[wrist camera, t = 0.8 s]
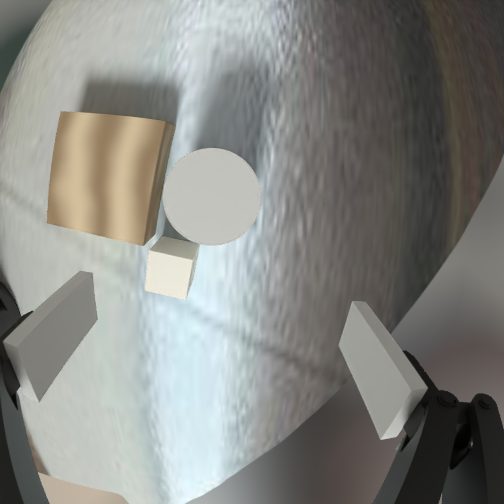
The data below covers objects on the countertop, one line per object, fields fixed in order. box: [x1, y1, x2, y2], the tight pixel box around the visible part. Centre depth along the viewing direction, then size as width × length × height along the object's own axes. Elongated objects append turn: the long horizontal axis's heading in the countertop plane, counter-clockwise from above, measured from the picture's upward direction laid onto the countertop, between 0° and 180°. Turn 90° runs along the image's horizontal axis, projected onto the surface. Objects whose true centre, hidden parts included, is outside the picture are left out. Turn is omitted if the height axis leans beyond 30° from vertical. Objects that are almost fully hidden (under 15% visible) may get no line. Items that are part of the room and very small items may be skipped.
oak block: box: [47, 112, 176, 246], centre depth 31 cm, size 14×14×5 cm
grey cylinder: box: [163, 148, 261, 245], centre depth 29 cm, size 8×8×12 cm
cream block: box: [145, 236, 200, 300], centre depth 35 cm, size 5×5×6 cm
